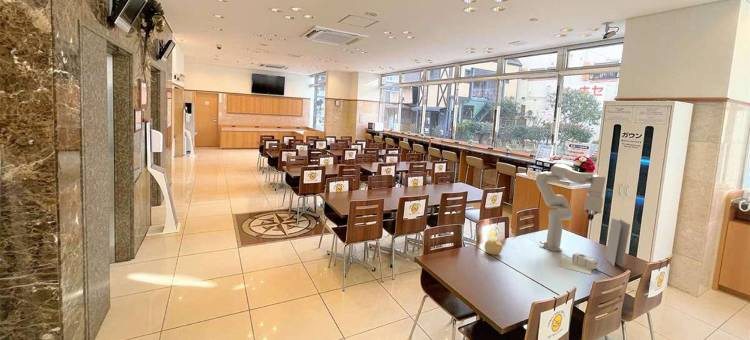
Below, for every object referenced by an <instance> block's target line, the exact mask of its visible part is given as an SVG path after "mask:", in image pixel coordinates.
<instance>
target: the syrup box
mask: <svg viewBox="0 0 750 340" xmlns="http://www.w3.org/2000/svg"><path fill="white" fill-rule="evenodd" d="M571 259H572V262H574V263H577V264H579V265H582V266H584V267H587V268H589V269H591V270H597V269H598V266H599V260H598V259H596V258H593V257H590V256H588V255H585V254H583V253H580V252H576V253H572V257H571Z"/></svg>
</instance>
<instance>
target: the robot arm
mask: <svg viewBox="0 0 750 340" xmlns="http://www.w3.org/2000/svg"><path fill="white" fill-rule="evenodd" d="M563 179H567V180H568V181H570V182H572V183H575V184H579V185H585V184H586V185H590V186H589V190H586V193H587V195H586V197H585V199H584V204H583V208H582V210H583V211H585V212H587V214H588V216H587V219H588V221H592V220H594V217H595V215H597V214H602V209H603V204H604V197H603V193H604V187H605V183H606V176H604V175H600V174H596V173H593V172H579V171H575V168H573V167H571V166H570V165H568V164H564V163H563V164H562V163H561V164H560V163H559V164H557V163H556V164H553V165H552V166H551V167H550V171H542V172H540V173H538V174H537V175H536V178H535V183H536V186H537V188H538V190H539V191H540V193H541V196H542V199H543V201H544V203H545V205H546V206H547V207H549V208H551V209H549V210H548V226H547V227H548V228H547V234H546V235H547V236H546V240H539V243H540V244H542V245H543V248H544V249H546V250H548V251H552V252H562V250H563V248H562V247H561V241H562V236H563V235H562V234H563V229H564V227H563V222H562V221H568V220H569V221H570V220H571V219H572V218H573V210H572V208H571V205H570V203H569V202H568V200H567V198H566V197H565V196H564V195H563V194H555V193H556V192H554V190H553V187H552V186H550V185H549V184H551V183H552V184H555V183H559V182H560V181H561V180H563ZM592 211H593V212H592Z"/></svg>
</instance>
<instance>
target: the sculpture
mask: <svg viewBox="0 0 750 340" xmlns="http://www.w3.org/2000/svg"><path fill="white" fill-rule="evenodd" d="M484 250H485V252H486V253H487V254H489V255H492V256H498V255H499V254H501V253H502V250H503V244H502V242H501V241H500V240H499V239H496V238H490V239H488V240H486V241H485V242H484Z"/></svg>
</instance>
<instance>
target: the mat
mask: <svg viewBox="0 0 750 340" xmlns="http://www.w3.org/2000/svg"><path fill="white" fill-rule="evenodd" d="M559 268H561V269H562V268H563V269H566V270H570V271H574V272H578V273H583V274H585V275H592V270H591V269H589V268H587V267H584V266H582V265H579V264H577V263H574V262H572V258H568V257H562V260H561V262H560V264H559Z"/></svg>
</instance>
